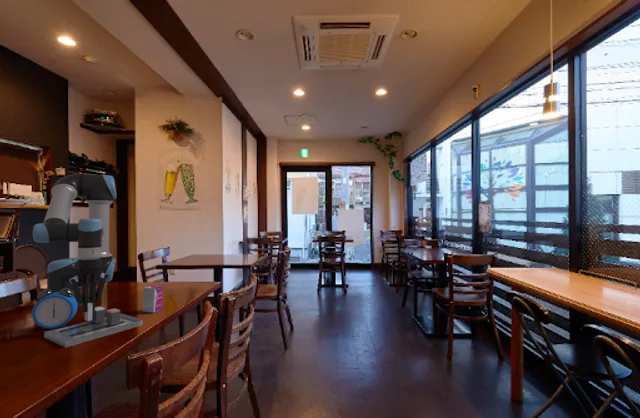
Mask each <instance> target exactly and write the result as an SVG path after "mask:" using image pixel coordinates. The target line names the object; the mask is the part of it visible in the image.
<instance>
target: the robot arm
mask: <svg viewBox="0 0 640 418" xmlns="http://www.w3.org/2000/svg"><path fill="white" fill-rule="evenodd" d="M115 183H116V182H115V178H114V176H113V175H107V174H97V173H96V174H95V173H72V174H68V175H66V176H64V177H63V176H62V177H61V178H60V179H58V180H57V181H56V182H55V183H54V184H53V186H52V187H51V190H50V191H51V192H50V193H51V196H52V197H51V200H50V203H49V206H48V208H47V211H46V214H45V217H44V220H43V222H41V223H36V224H34V225H33V228H32V239H33V241H34V242H35V243H38V244H39V243H41V244H50V243H51V244H52V243H77V257H69V258H62V259H58V260H54V261H50V262H49V263H48V265H47V271H46V273H47V275H46V276H47V277H46V289H50V290H52V291H53V292H52V293H54V292H59V291H60V290H61V289H63V288H70V289H72V290H73V291H74V295H73V297H74V298H75V299H76V302H77V304H78V308H77V309H79V308H81V307H82V308H81V311H82V313H84V320H85V321H86V322H88V321H91V320H92V311H93V310H95V307H96V302H97V301H98V300H101V298H102V295H103V291H104V288H105V284H106V283H109V282H111V281H112V280H113V276H114V270H115V266H116V265H115V264H116V258H114V257H113V254H112V253H111V252H110V210H111V209H110V206H111V204H112V203H114V199H117V191H116V184H115ZM76 198H85V199H84V202H85V203H87V204H88V218H80V219H79V220H78V223H77V222H76V223H75V222H73V223H69V219H70V217H71V216H70V214H71V211H72V207H73V202H74V200H75V199H76ZM80 285H81V289H80ZM54 290H58V291H54ZM50 294H51V293H50ZM48 295H49V294H48Z"/></svg>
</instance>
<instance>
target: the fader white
mask: <svg viewBox="0 0 640 418" xmlns="http://www.w3.org/2000/svg"><path fill="white" fill-rule="evenodd" d="M105 317H106V308H105V307H102V306H95V310H93V311H92V320H90V321H92V322H94V323H99V322H103V321H105Z"/></svg>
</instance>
